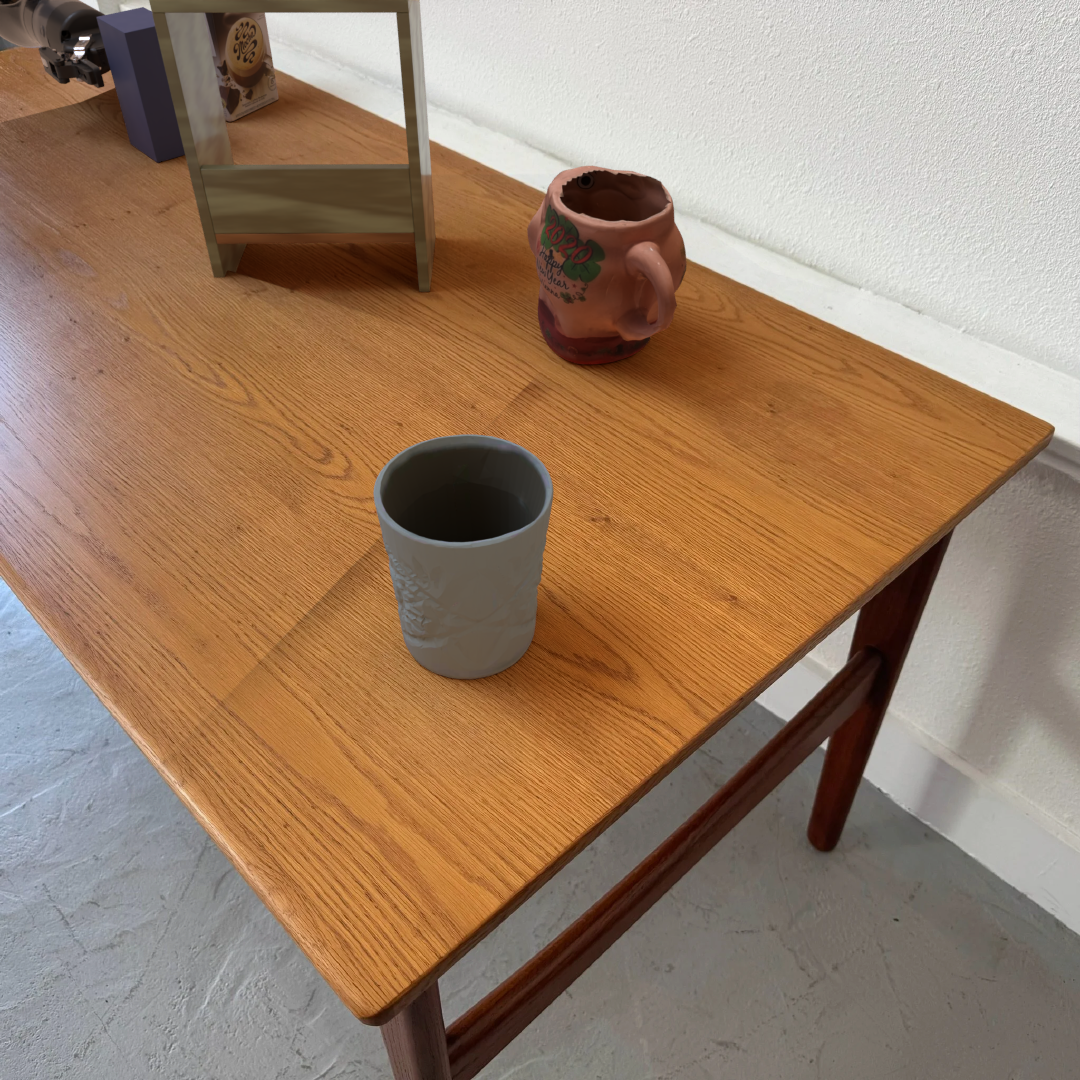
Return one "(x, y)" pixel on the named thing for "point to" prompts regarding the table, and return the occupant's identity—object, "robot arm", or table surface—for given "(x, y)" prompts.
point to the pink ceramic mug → (605, 263)
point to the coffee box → (242, 61)
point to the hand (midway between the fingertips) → (135, 69)
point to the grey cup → (465, 549)
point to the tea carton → (141, 82)
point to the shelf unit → (295, 189)
